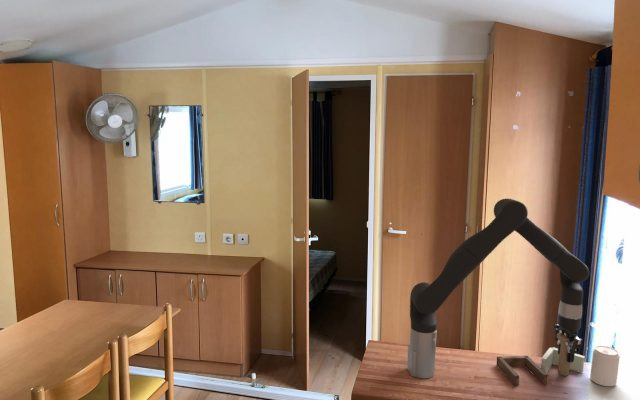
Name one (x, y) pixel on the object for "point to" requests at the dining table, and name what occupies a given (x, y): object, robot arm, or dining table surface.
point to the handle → (563, 356)
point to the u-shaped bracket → (515, 361)
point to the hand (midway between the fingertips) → (565, 357)
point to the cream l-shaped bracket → (553, 358)
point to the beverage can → (604, 366)
